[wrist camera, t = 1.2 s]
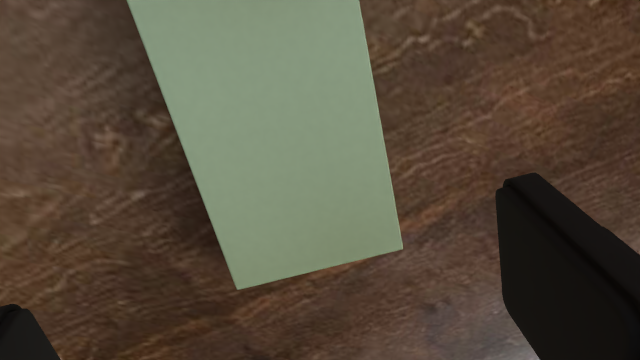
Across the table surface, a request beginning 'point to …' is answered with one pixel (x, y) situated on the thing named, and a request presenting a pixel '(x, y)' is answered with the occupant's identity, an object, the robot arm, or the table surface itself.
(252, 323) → the table surface
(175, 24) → the sage green foam block
